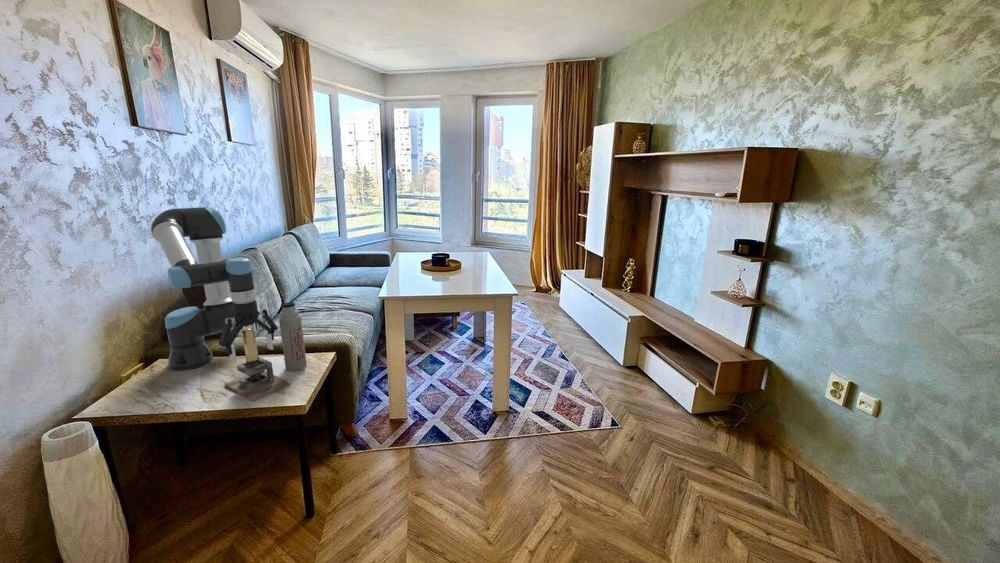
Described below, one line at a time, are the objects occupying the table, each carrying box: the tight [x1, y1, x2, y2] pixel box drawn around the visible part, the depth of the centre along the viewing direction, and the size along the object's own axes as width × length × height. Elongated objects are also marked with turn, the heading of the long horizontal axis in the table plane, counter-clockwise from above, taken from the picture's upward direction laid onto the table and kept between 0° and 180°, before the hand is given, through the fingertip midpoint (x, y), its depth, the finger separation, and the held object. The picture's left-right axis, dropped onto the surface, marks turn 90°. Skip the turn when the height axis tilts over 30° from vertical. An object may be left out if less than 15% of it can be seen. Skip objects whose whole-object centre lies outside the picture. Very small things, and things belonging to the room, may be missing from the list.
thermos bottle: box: [278, 301, 308, 372], centre depth 167 cm, size 8×8×28 cm
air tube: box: [240, 326, 263, 383], centre depth 152 cm, size 4×4×22 cm
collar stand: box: [224, 356, 291, 402], centre depth 155 cm, size 20×14×9 cm
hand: (252, 355), depth 152 cm, fingers open, 13 cm apart
